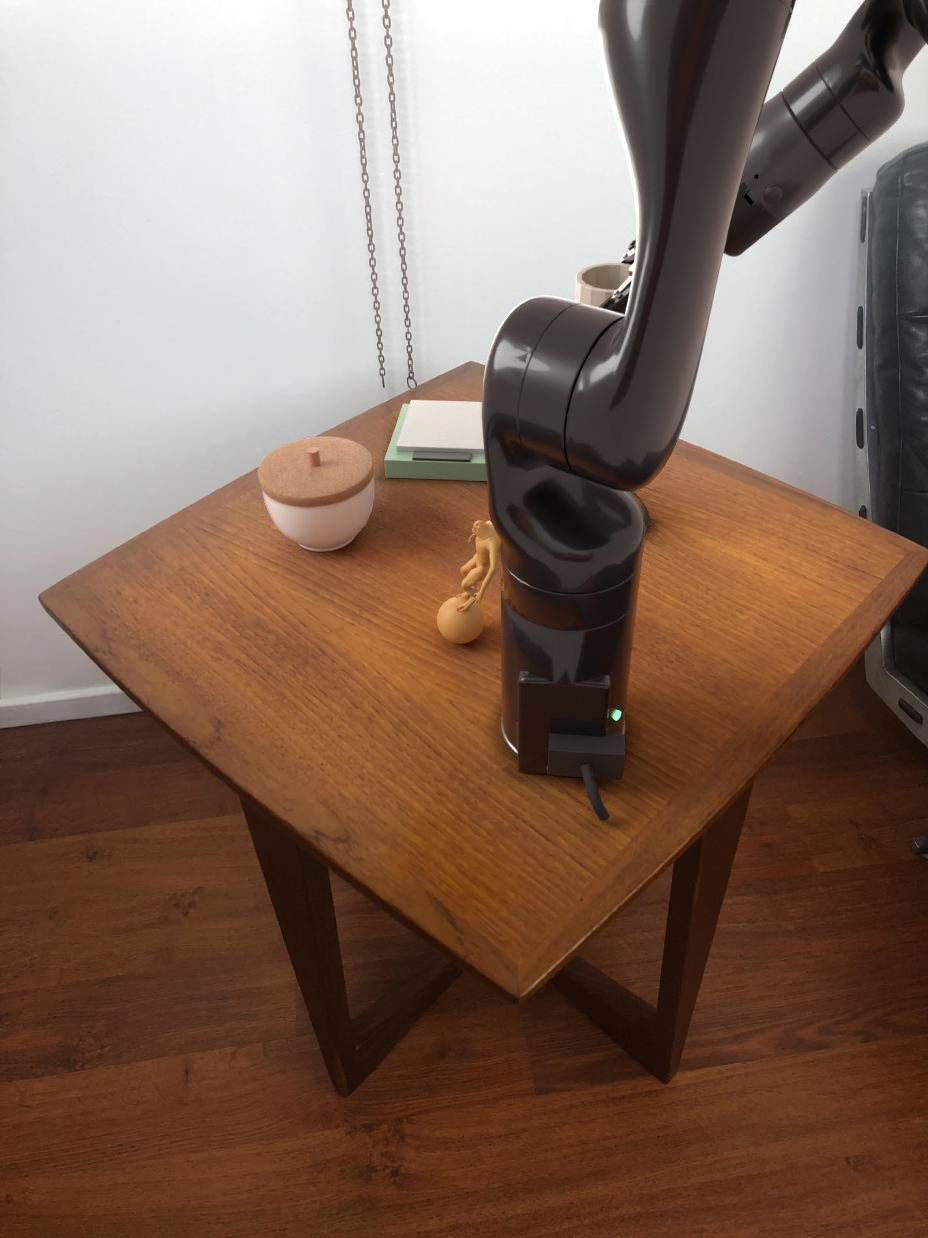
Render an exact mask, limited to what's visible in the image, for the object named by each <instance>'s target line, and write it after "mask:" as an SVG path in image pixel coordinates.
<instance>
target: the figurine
mask: <svg viewBox="0 0 928 1238" xmlns="http://www.w3.org/2000/svg"><path fill="white" fill-rule="evenodd" d="M472 525H473V527H472V528H471V531H472V534H471V535H470V536H469V538H468V540H467V542H466V543H471V542H474V540H475V549H476V550H475V551H476V552H475V554H474V555H473V557H472V558H471V559H469V561H467V562H466V563H465V564H464V565H463V566H461V567H460V570H459V571H460V574H461V576H462V577H463V579H462V581H461V588H462V590H463V591H464V592H463V593H458V594H457V595H456V596H452V597H450V598H449V599H447V600H445V601H444V602H443V603H442V604H441V606H440V608H439V609H438V612H437V614H436V625H437V628H438V631H439V632H440V634H441V636H442V637H443V638H445V640H447V641H449V642H451V643H454V644H461V645H462V644H468V643H470V642H472V641H474V640H475V639H476V638H478V636H479V635H480V634H481V633H482V631H483V629H484V626H485V615H484V611H483V609H482V607H481V605H480V604H481V601H482V600H483V597H484V594H485V591H486V589H487V588H488V587H489V585H490V583H491V581H492V580H493V577H494V576H495V574H496V572H497V569H498V561H499V560H498V557H499V556H498V555H499V554H500V553H501V552H500V538H499V537H498V535H497V533H496V531H495V529H494V527H493V525H492V522H491V520H486V521H484V520H481V519H480V520H479V519H478V520H476V521H474V523H473V524H472ZM487 568H488V569H487ZM483 579H484V580H483ZM481 581H482V584H481V586H480V590H477V587H478V583H479V582H481Z"/></svg>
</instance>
